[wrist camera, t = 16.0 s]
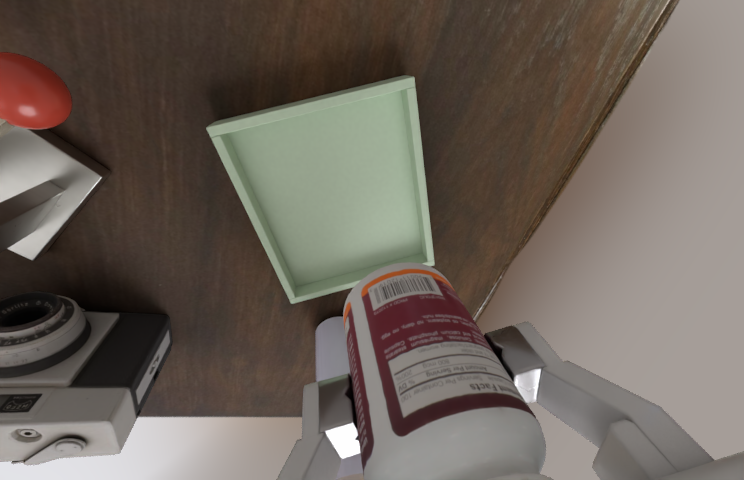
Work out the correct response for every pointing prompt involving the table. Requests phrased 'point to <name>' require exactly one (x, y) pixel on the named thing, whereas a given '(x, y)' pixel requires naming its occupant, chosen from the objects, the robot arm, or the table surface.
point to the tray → (333, 184)
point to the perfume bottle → (331, 365)
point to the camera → (73, 376)
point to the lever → (30, 94)
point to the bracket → (41, 188)
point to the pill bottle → (432, 385)
